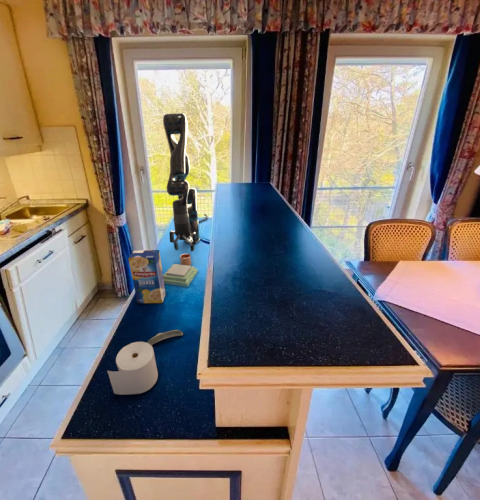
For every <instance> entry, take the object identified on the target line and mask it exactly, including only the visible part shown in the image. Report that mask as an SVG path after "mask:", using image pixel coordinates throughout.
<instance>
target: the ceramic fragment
mask: <svg viewBox="0 0 480 500" xmlns="http://www.w3.org/2000/svg"><path fill="white" fill-rule="evenodd" d="M179 336H184V333H183V332H182V331H181V330H179V329H173V330H168V331H165V332H159V333H157V334H156V335H155V336H153V337H151V338H150V339H149V340H147V342H146V343H149V344H150V345H151V346H153V345H155V344H157V343H159V342H161V341H163V340H166V339H169V338H173V337H179Z"/></svg>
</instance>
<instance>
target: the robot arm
mask: <svg viewBox="0 0 480 500" xmlns="http://www.w3.org/2000/svg"><path fill="white" fill-rule="evenodd" d="M162 123H163V129H164V133H165V136H166V140H167V144H168V148H169V154H170V158H169V176H168V180H167V183H166V192H167V194H168V195H169V196H171V197H177V199H175V200H173V201H172V213H173V214H172V215H173V217H172V218H173V227H174V230H173V229H172V230H170V231H169V242H170V243H173V247H174V250H175V251H178V250H179V241H184V242H185V243H187V244H189V249H190V252H191V253H192V252H194V250H195V245H197V243H198V242H200V241H201V238H200V225H199V224H200V223H201V222H204V221H206V220H208V219H209V217H208V215H207V214H206V213H204V214H203V216H205V217H206V218H204V219H201V220H199V212H198V194H197V193H198V191H197V189H196V188H194V187H190V183H189V182H188V181H187V177H188V175H189V174H190V171H191V163H190V157H189V155H188V154H187V152H186V148H187V139H188V119H187V116H186V114H185V113H183V112H177V113H166V114H164V115H163V116H162ZM175 135H176V136H177V135H179V138H178V141H177V139H176V137H175ZM188 205H190V206H189V207H188Z"/></svg>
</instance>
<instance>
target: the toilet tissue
mask: <svg viewBox="0 0 480 500" xmlns="http://www.w3.org/2000/svg"><path fill="white" fill-rule="evenodd" d="M154 351H155V350H154V347H153V345H150V344H149V343H147V342H145V341H135V342H131V343H129V344H127V345H125V346H123V347H122V348H121V349H120V350H119V351H118V353H117V355H116V357H115V364H116V367H117V369H118V371H114V370H113V371H112V370H106V371H107V374H108V378H109V381H110V385H111V388H112V391H113V394H115V395H120V396H123V395H125V396H128V395H139V394H143V393H145V392H147V391H149V390H151V389H152V388H153V387H154V386H155V384H156V383H157V381H158V377H159V371H158V368H157V361H156V356H155V352H154Z"/></svg>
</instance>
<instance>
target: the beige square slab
mask: <svg viewBox="0 0 480 500" xmlns="http://www.w3.org/2000/svg"><path fill="white" fill-rule="evenodd" d="M173 264H174V265H173ZM173 264H172V265H173V266H172V265H171V266H172V267H171V266H170V267H171V268H170V267H169V268H170V269H169V268H168V269H169V271H168V270H167V271H168V272H167V271H166V272H167V273H166V272H165V273H166V274H167V275H168V276H176V277H185V276H186V275H187V273H188V272H189V271H190V269H191V266H192V265H190V266H187V265H181V264H179V263H178V264H177V263H173Z"/></svg>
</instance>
